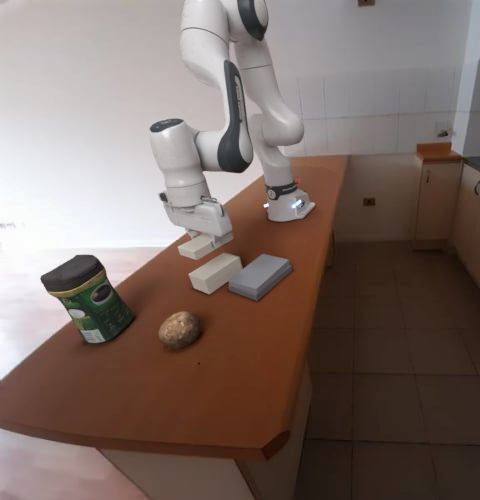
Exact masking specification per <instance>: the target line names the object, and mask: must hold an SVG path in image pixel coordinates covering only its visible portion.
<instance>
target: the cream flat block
mask: <svg viewBox="0 0 480 500" xmlns="http://www.w3.org/2000/svg"><path fill="white" fill-rule="evenodd" d="M199 235H200V236H198V237H196V238H194V239H192V238H191V239H190V240H187V241H186V242H185V243H182V244H180V245H178V246H177V250H178V253H179V255H180V256H182V257H185V258H189V259H192V260H194V261H198V260H200V259H202V258H203V257H205V256H207V255H208V254H210V253H212V252H213V251H216V250H217V249H218V248H213V247H212V245H211V242H212V241H213V237H211V236H210V234H207V233H204V234H202V233H201V234H199ZM234 239H235V235H234V232H233V230H232V231H231V232H230V233H229V234H227V235H225V236H223V237H221V238H220V243H221V247H222V246H225V244H228V243H229V242H231V241H233V240H234Z"/></svg>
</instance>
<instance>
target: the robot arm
mask: <svg viewBox="0 0 480 500" xmlns="http://www.w3.org/2000/svg"><path fill="white" fill-rule="evenodd" d="M180 18H181V19H180V30H179V31H180V32H179V53H180V58H181V61H182V64H183V65H184V67H185V69H186V70H187V72H188V73H189V74H190V75H191V76H192V77H194V78H195V79H196V80H198V81H199V82H201V83H203V84H205V85H206V86H209V87H210V88H213V89H217V90H219V91H220V93H221V100H222V107H223V116H224V126H223V128H222V129H220V130H200V129H197V128H194V127H191V126H190V125H188V124H187V122H186V121H185V120H184V119H182V118H167V119H164V120H159V121H156V122H155V123H153V124H151V126H150V127H149V128H148V139H149V143H150V147H151V150H152V154H153V157H154V160H155V163H156V165H157V167H158V169H159V171H160V172H161V173H162V175H163V177H164V178H163V180H164V187H165V189H164V190H162V191H160V192H158V193H157V196H158V199H159V201H160V202H161V203H162V206H163V209H164V212H165V213H166V215H167V218H168V220H169V221H170V223H171V224H172V225H173V226H175V227H176V226H177V227H181V228H184V230H185V232H186V233H187V234H188V235H189V237H190V239H191V240H192V239H194V238H196V237H198V236H200V235H201V234H199V233H198V232H200V233H202V232H203V233H207V234H210V236H211V237H213V241H212V242H211V245H212V247H213V248H217V249H219V248H221V247H222V246H221V243H220V238H221V237H223V236H225V235H227V234H229V233H230V232H231V231H233V225H232V222H231V219H230V217H229V214H228V211H227V210H226V207H225V206H224V205H223V203H221V202H220V200H219V201H218V199H217V198H216V197H212V195H211V191H210V188H209V184H208V181H207V179H206V178H207V177H206V176H205V174H204V172H210V173H211V172H212V173H213V172H214V173H215V172H216V173H217V172H221V173H224V172H225V173H229V174H230V173H231V174H243V173H245V171H247V170H248V169H249V167H250V166H251V165H252V163H253V161H254V153H255V155H256V156H257V159H258V160H259V161H260V166H261V168H262V172H263V176H264V181H265V183H264V189H265V193H266V200H267V203H266V204H263V207H264V208H267V210H266V213H267V218H268V219H269V220H270V221H272V222H281V223H283V222H289V221H290V222H291V221H294V220H302V219H304V218H305V217H306V216H307V215H308V214H309V213H310V212H311V211H312V210H313V209H315V207H316V203H315V202H313V201H310V197H309V194H308V193H307V191H306V190H302V189H300V188H299V186H298V185H300V184H301V179H300V178H295V179H294V174H293V173H294V172H293V167H292V162H291V160H290V158H288V156H286V155H285V154H283V153H282V152H281V150H280V149H279V147H290V146H294V145H298V144H299V143H302V140H303V139H304V135H305V125H304V122H303V120H302V118H301V117H300V116H299V115H298V114H296V113H295V112H294V111H293V110H292V109H291V108H290V107H289V106H288V104H287V103H286V101H285V99H284V97H283V96H282V93H281V92H280V88H279V84H278V80H277V77H276V73H275V68H274V64H273V59H272V55H271V51H270V48H269V45H268V42H267V39H266V36H265V35H266V33H267V30H268V26H269V11H268V6H267V3H266V0H184V3H183V7H182V12H181V17H180ZM230 44H233V50H234V57H235V62H236V64H235V63H234V62H232V60H231V56H230ZM245 96H246V98H247V99H248V100H249V101H251V102H252V103H254V104H255V105H256V106H257V107H258V108H259V109H260V111H261V113H252V114H247V106H246V99H245Z"/></svg>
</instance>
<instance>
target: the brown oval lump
mask: <svg viewBox="0 0 480 500" xmlns="http://www.w3.org/2000/svg"><path fill="white" fill-rule="evenodd" d="M201 330H202V324H201V321H200V319H199V317H198V316H197V315H196V314H195V313H193V312H191V311H186V310H183V311H178V312H175V313H172V315H171V316H170V315H169V317H168V318H166V319H165V321H163V323H162V324H161V325H160V327H159V330H158V332H157V334H158V340H159V342H160V343H161V344H162V345H163V346H164V347H166V348H169V349H172V350H175V349H182V348H185V347H187V346H189V345H191V344H193V343H194V342H195V341H196V340H197V339H198V338H199V336H200V335H201Z"/></svg>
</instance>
